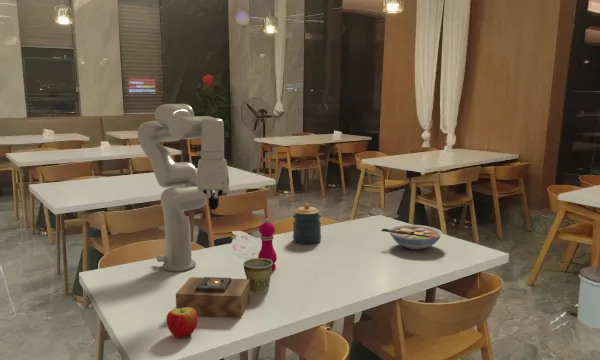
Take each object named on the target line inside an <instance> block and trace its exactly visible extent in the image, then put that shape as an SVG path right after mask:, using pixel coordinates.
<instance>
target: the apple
mask: <svg viewBox="0 0 600 360" xmlns="http://www.w3.org/2000/svg"><path fill="white" fill-rule="evenodd" d="M177 305H178V306H179V307H180V305H179V304H177ZM198 319H199V317H198V316H197V312H196V311H195V309H193V308H191V307H184V308H181V307H180V308H178V309H176V308H174V309H172V310H170V311H168V313H167V315H166V326H167V329H168V330H169V332H170V333H171V334H172V335H173V336H174V337H176V338H180V339H182V338H187V337H189V336H190V335H192V334H194V332H195V330H196V328H197V326H198V322H199V321H198Z"/></svg>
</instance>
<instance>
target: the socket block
mask: <svg viewBox="0 0 600 360" xmlns="http://www.w3.org/2000/svg"><path fill="white" fill-rule="evenodd" d="M211 279H219V280H221V285H220V286H207V281H208V280H211ZM250 301H251V293H250V279H247V278H232V277H214V276H213V277H212V276H211V277H210V276H204V277H199V276H198V277H195V276H194V277H191V276H190V277H189V278H188V279H187V280H186V281H185V282H184V284H183V285H182V286H181V287H180V288H179V289H178V290H177V291H176V293H175V305H176V306H175V307H176V308H175V309H178V308H180V307H181V308H184V307H191V308H193V309H195V311H196V312H197V316H198V318H200V317H203V318H204V317H205V318H224V319H225V318H227V319H228V318H229V319H242V318H243V316H244V314H245V311H246V309H247V307H248V305H249V302H250ZM177 304H179V305H180V307H179V306H178V305H177Z"/></svg>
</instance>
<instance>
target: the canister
mask: <svg viewBox="0 0 600 360" xmlns="http://www.w3.org/2000/svg"><path fill="white" fill-rule="evenodd" d="M319 213H320V210H319V209H318V208H316V207H314V206H310V203H304V205H303V206H299V207H297V209H295V210H294V214H293V215H292V218H293V221H292V225H293V228H292V231H293V232H292V233H293V234H292V239H293V240H292V241H293V243H296V244H299V245H308V246H309V245H316V244H318V243H320V242H321V240H322V239H321V238H322V235H321V234H322V231H321V229H322V227H321V225H322V222H321V218H322V215H321V214H319Z"/></svg>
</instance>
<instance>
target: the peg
mask: <svg viewBox="0 0 600 360" xmlns="http://www.w3.org/2000/svg"><path fill="white" fill-rule="evenodd" d="M220 285H221V280H219V279H211V280H208V281H207V286H220Z"/></svg>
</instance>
